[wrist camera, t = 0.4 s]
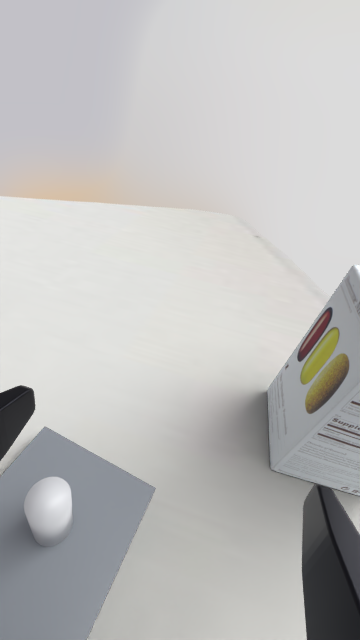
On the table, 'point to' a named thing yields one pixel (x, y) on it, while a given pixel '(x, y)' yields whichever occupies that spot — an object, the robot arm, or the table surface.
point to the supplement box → (321, 397)
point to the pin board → (81, 557)
